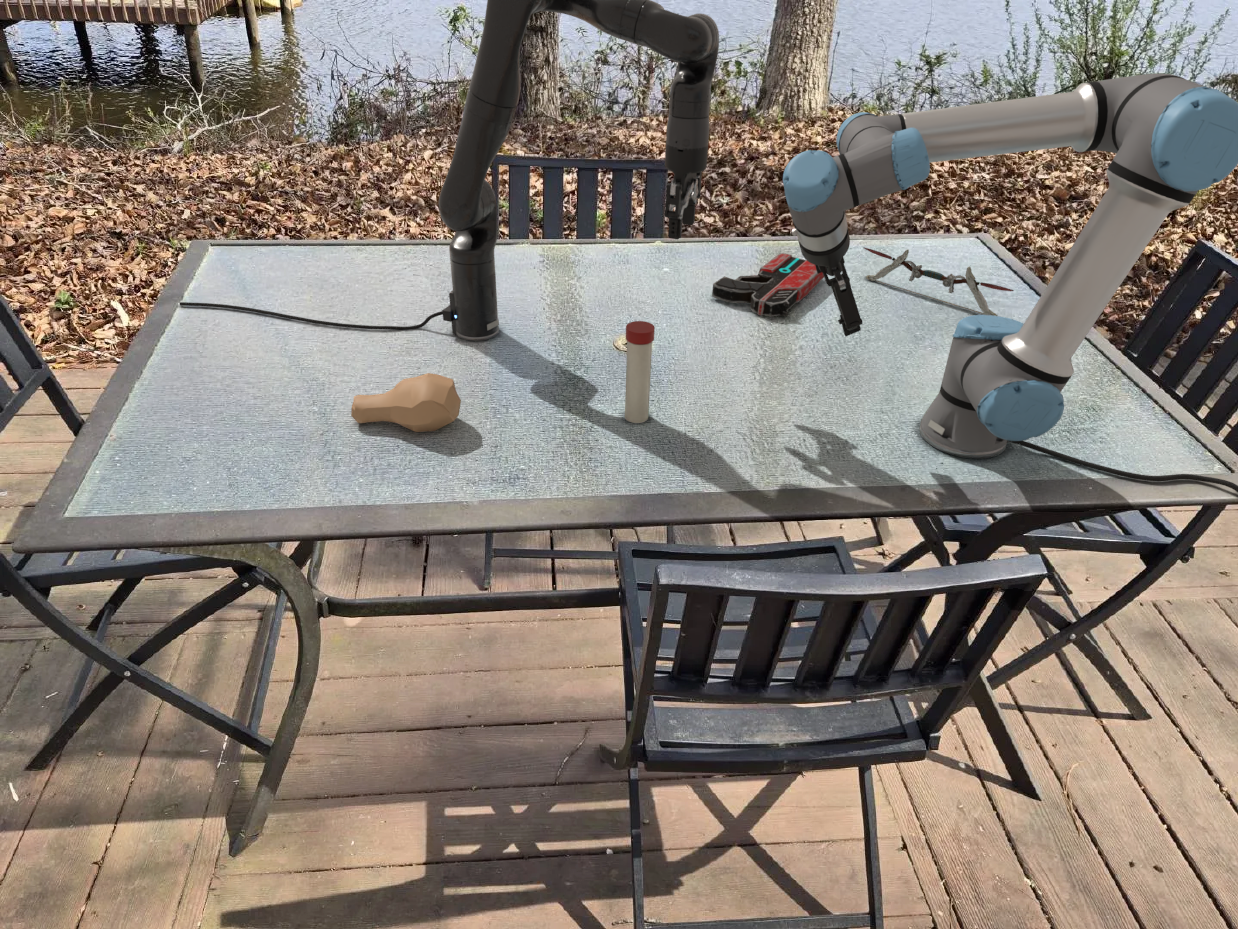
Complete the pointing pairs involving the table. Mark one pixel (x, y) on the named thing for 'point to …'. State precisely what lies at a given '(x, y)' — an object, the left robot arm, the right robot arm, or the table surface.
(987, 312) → the bow
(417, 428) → the squash
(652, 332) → the lid
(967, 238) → the table surface
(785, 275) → the gun
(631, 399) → the slim white bottle
